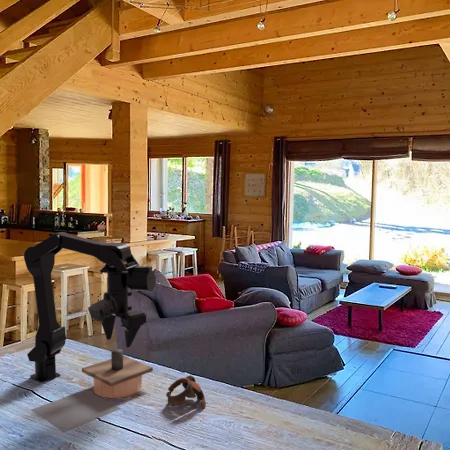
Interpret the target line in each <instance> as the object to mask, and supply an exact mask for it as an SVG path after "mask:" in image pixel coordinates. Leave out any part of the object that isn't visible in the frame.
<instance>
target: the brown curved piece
mask: <svg viewBox="0 0 450 450" xmlns="http://www.w3.org/2000/svg"><path fill="white" fill-rule="evenodd" d="M179 386H182V387H183V391H181V392H180V393H179V394H176V395H172V393H173V391H174V390H175V389H177V388H178V387H179ZM167 390H168V391H167V392H166V394H165V395H166V398H167V405H168V406H171V407H176V406H180V405H183V406H187V404H186V403H187V401H186V398H188V399H192V398H193V399H195V398H196V399H197V401H201V402H200V403H201V405H202V409H205V408H206V406H207V402H206V398H205V395H204V392H203V389H202V387H201V386H200V385H199V384H198V383H197V382H196V378H195V377H194V376H193V375H191V374H190V375H187V376H186V377H181V378H178V379H177V380H175V381H173V382H172V383H171V384H170V385H169V387H168V388H167Z"/></svg>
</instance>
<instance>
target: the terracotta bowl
mask: <svg viewBox="0 0 450 450" xmlns="http://www.w3.org/2000/svg"><path fill="white" fill-rule="evenodd" d="M142 376H143V375H141V376H138V377H135V378H133V379H130V380H127V381H125V382H122V383H119V384H117V385H114V386H109V385H107V384H105V383H103V382H101V381H99V380H97V379H95V378H93V377H92V378H93V394H95V395H97V396H99V397H101V398H109V399H117V398H126V397H129V396H131V395H134V394H137V393H138V392H139V390H141V389H142V386H143V383H142V379H143V377H142Z"/></svg>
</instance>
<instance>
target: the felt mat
mask: <svg viewBox="0 0 450 450" xmlns="http://www.w3.org/2000/svg"><path fill="white" fill-rule="evenodd" d="M120 409H122V408H121V407H120V406H117V405H115V404H114V403H111V402H110V401H108V400H106V399H104V397H101V396H99V395H97V394H96V393H94V392H91V391H89V390H87V389H85V390H82V391H79V392H77V393H76V392H75V393H73V394H71V395H67V396H66V397H62V398H59V399H57V400H54V401H51V402H48V403H45V404H42V405H39V406H37V407H35V408H32V409H31V411H32V412H34V413H35V414H36V415H38V416H39V417H41V418H42V419H44V420H46V421H47V422H48V423H50V424H51V425H53V426H54V427H56V428H57V429H58V430H60V431H62V432H63V433H66V432H68V431H71V430H73V429H75V428H78V427H79V426H82V425H84V424H87V423H90V422H92V421H94V420H97V419H99V418H102V417H104V416H106V415H108V414H111V413H114V412H115V411H116V412H117V411H118V410H120Z"/></svg>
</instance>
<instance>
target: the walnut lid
mask: <svg viewBox="0 0 450 450" xmlns="http://www.w3.org/2000/svg"><path fill="white" fill-rule="evenodd" d="M110 355H111V358H110V359H106V360H104V361H101V362H98V363H94V364H91V365H88V366H84V367H82V368H81V372H82V373H83V374H86V375H88V377H91V378H95V379H97V380H99V381H101V382H103V383H105V384H107V385H109V386H114V385H117V384H119V383H122V382H125V381H127V380H130V379H133V378H135V377H138V376H141V375H142V376H143V375H146V374H149V373H152V372H154V368H153V367H152V366H150V365H147V364H145V363H142V362H140V361H139V360H138V361H137V360H135V359H133V358H130V357H128V356H125V355H124V349H122V348H115V349H112V350H111V353H110Z"/></svg>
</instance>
